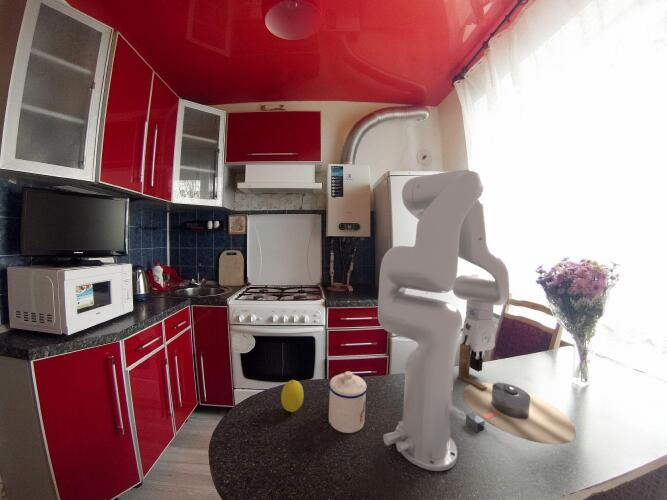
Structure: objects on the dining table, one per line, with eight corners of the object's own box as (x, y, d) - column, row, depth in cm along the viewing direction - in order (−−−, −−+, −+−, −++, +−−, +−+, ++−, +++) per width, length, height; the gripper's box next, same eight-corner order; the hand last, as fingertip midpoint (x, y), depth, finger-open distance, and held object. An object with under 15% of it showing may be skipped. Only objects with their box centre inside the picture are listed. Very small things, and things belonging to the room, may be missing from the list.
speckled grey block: (476, 433, 58) (477, 422, 58) (465, 424, 61) (466, 414, 61) (483, 430, 59) (484, 420, 59) (472, 421, 62) (472, 412, 62)
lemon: (276, 411, 62) (277, 379, 62) (293, 401, 66) (294, 372, 66) (289, 423, 59) (291, 389, 58) (307, 412, 63) (308, 380, 62)
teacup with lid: (369, 434, 56) (371, 383, 56) (328, 435, 55) (331, 383, 55) (359, 400, 68) (361, 358, 68) (325, 400, 67) (327, 358, 67)
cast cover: (515, 422, 60) (516, 399, 60) (484, 402, 68) (485, 382, 67) (536, 415, 63) (537, 393, 63) (504, 396, 70) (505, 377, 70)
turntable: (539, 467, 49) (543, 409, 49) (429, 386, 76) (431, 348, 76) (602, 433, 59) (606, 385, 59) (485, 372, 86) (487, 339, 85)
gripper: (473, 318, 75) (469, 379, 75) (506, 314, 80) (502, 371, 81) (452, 311, 81) (449, 367, 82) (483, 308, 87) (480, 360, 88)
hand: (475, 369), depth 81 cm, fingers closed
